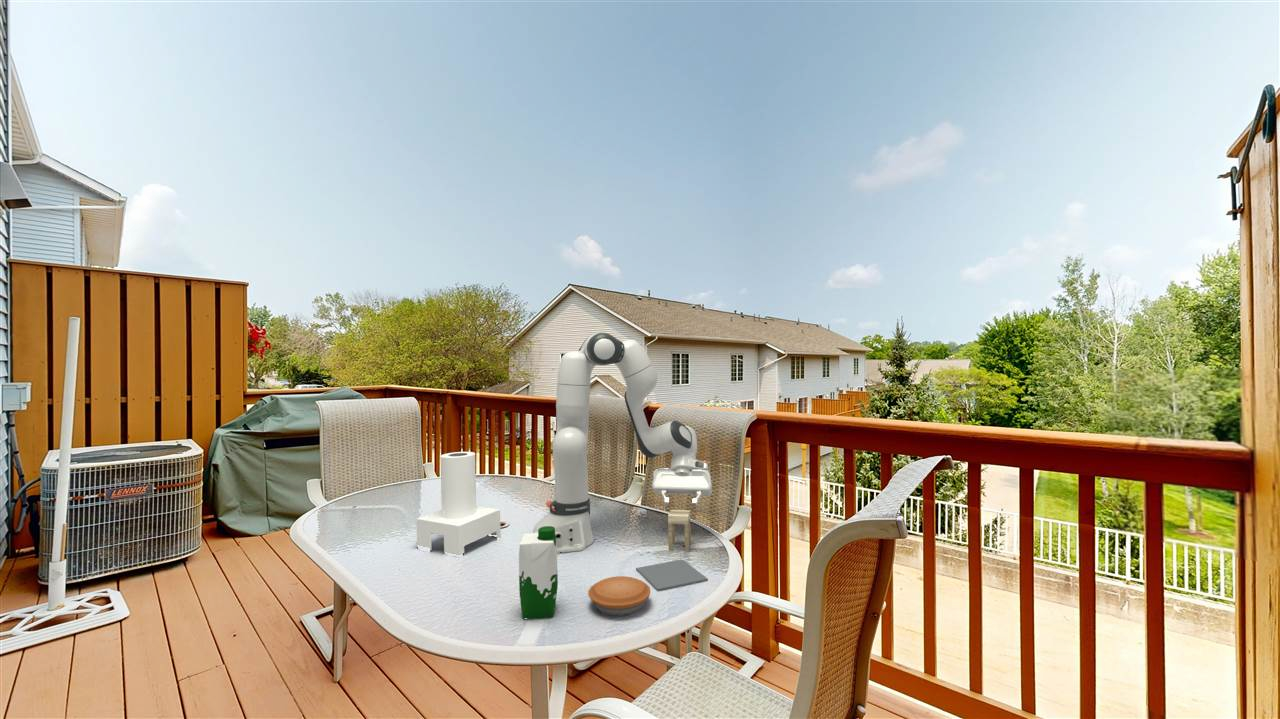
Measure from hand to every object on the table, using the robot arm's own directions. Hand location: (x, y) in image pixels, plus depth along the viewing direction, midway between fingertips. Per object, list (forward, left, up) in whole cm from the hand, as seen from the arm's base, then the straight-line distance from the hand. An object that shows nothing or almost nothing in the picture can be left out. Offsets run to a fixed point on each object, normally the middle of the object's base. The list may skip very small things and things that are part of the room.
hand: (680, 504), depth 169 cm
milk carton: (-52, -26, -13) cm, 60 cm away
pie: (-33, -31, -13) cm, 47 cm away
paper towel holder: (-67, +32, -13) cm, 76 cm away
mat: (-14, -21, -13) cm, 28 cm away
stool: (-2, -3, -13) cm, 13 cm away
